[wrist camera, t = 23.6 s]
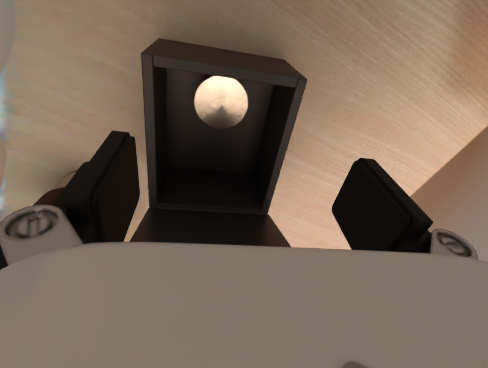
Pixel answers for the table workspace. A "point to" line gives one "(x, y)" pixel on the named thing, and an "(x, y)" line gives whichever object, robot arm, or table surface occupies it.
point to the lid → (208, 228)
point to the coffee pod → (220, 101)
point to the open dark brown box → (215, 129)
